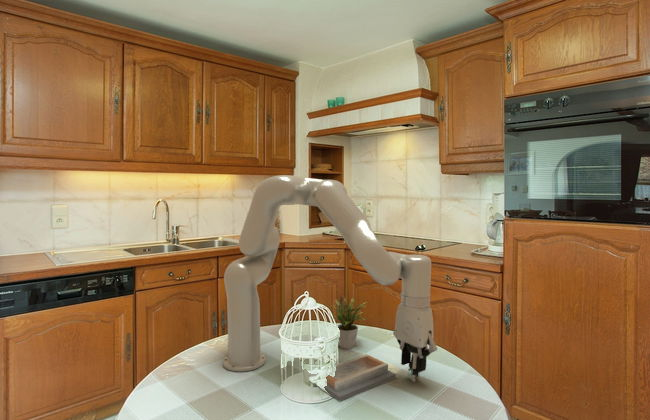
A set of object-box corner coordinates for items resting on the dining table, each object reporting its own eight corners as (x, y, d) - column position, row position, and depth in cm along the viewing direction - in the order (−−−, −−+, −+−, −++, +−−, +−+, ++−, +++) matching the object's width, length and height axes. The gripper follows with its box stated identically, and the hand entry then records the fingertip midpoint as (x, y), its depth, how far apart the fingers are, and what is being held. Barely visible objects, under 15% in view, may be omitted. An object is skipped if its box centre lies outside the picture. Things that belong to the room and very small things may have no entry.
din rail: (316, 378, 106) (316, 370, 106) (366, 361, 117) (366, 354, 117) (337, 392, 99) (337, 383, 99) (388, 372, 110) (388, 364, 110)
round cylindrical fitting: (423, 385, 104) (426, 348, 103) (402, 381, 105) (405, 345, 104) (423, 373, 110) (426, 338, 109) (404, 370, 111) (406, 335, 111)
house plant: (372, 356, 124) (372, 304, 123) (328, 355, 124) (328, 304, 123) (368, 338, 138) (368, 292, 137) (328, 338, 138) (328, 292, 137)
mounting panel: (309, 381, 107) (309, 377, 107) (363, 362, 119) (363, 358, 119) (339, 401, 97) (339, 396, 97) (395, 378, 109) (395, 373, 109)
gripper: (383, 295, 111) (381, 359, 112) (432, 311, 97) (429, 383, 98) (401, 292, 115) (399, 353, 116) (450, 306, 102) (448, 375, 103)
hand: (413, 366), depth 107 cm, fingers closed on round cylindrical fitting, 4 cm apart
